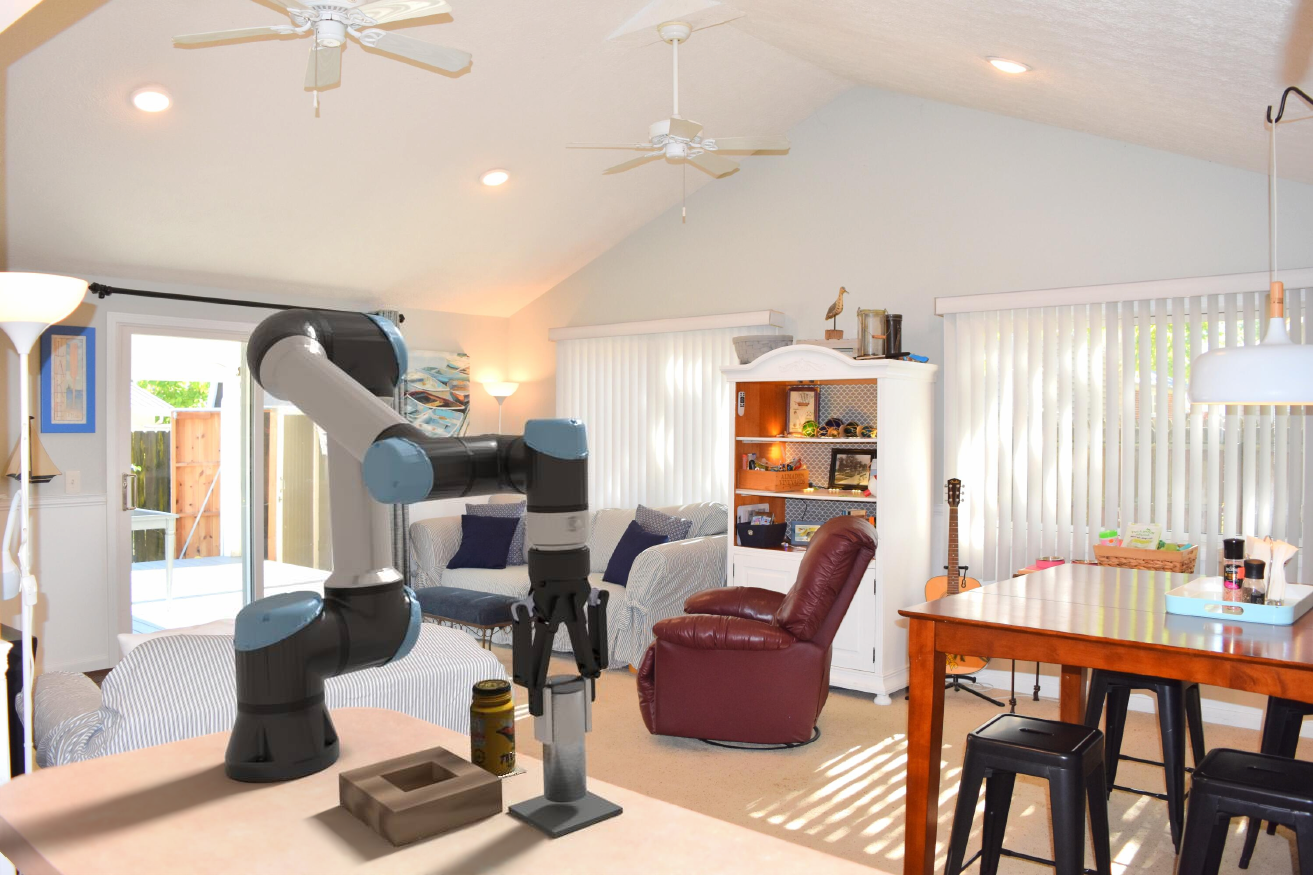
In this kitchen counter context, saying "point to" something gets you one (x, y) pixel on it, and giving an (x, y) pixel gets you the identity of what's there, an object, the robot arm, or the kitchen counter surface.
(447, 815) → the housing
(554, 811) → the mat
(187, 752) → the kitchen counter surface
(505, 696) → the condiment
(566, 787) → the plug
